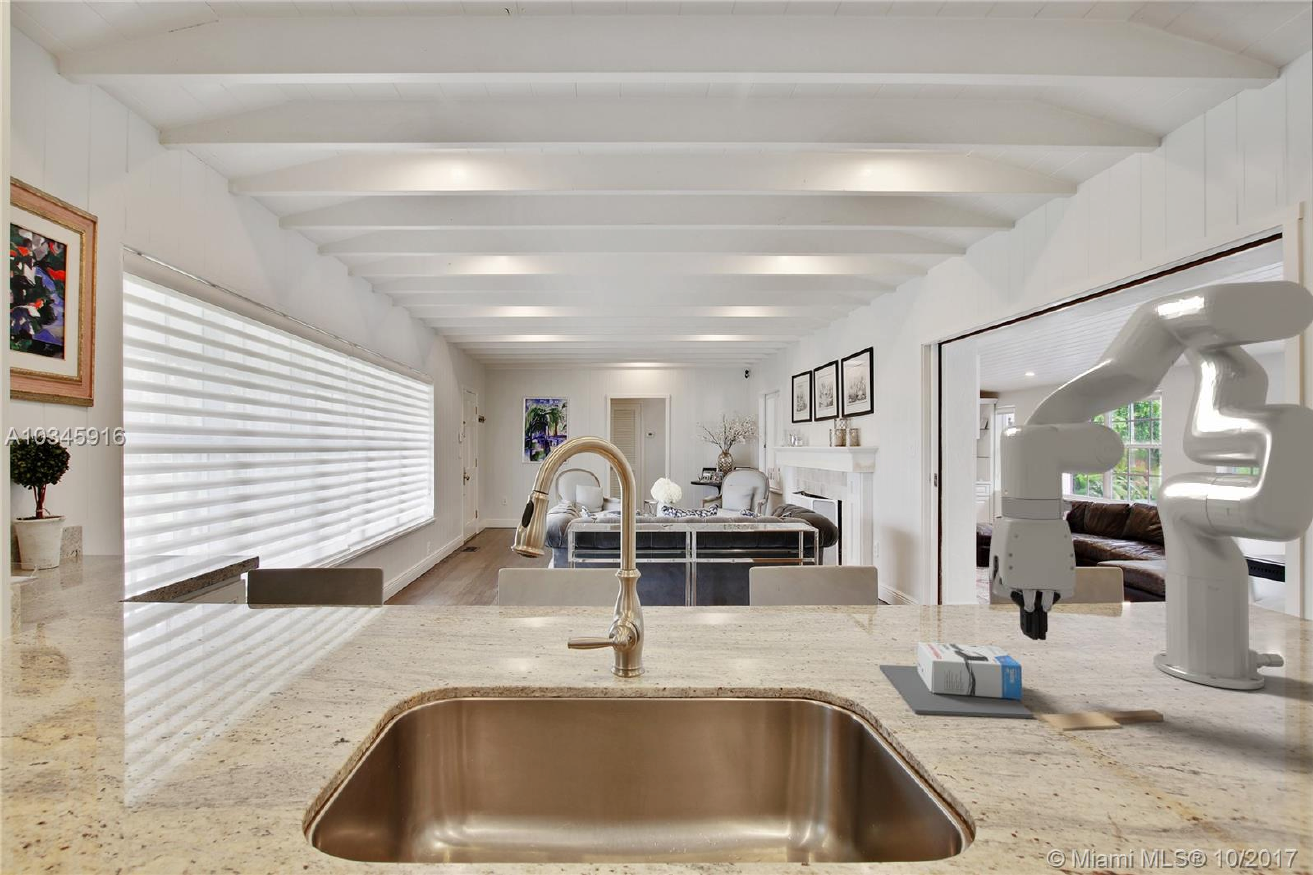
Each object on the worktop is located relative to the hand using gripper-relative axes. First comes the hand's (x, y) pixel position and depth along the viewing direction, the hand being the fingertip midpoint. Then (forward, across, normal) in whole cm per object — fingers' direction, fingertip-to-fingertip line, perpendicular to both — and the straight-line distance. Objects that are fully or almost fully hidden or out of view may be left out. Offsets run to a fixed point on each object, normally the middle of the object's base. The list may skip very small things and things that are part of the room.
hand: (1034, 636), depth 84 cm
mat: (+8, +12, 0) cm, 15 cm away
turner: (+8, -4, +8) cm, 12 cm away
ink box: (+5, +3, 0) cm, 6 cm away
